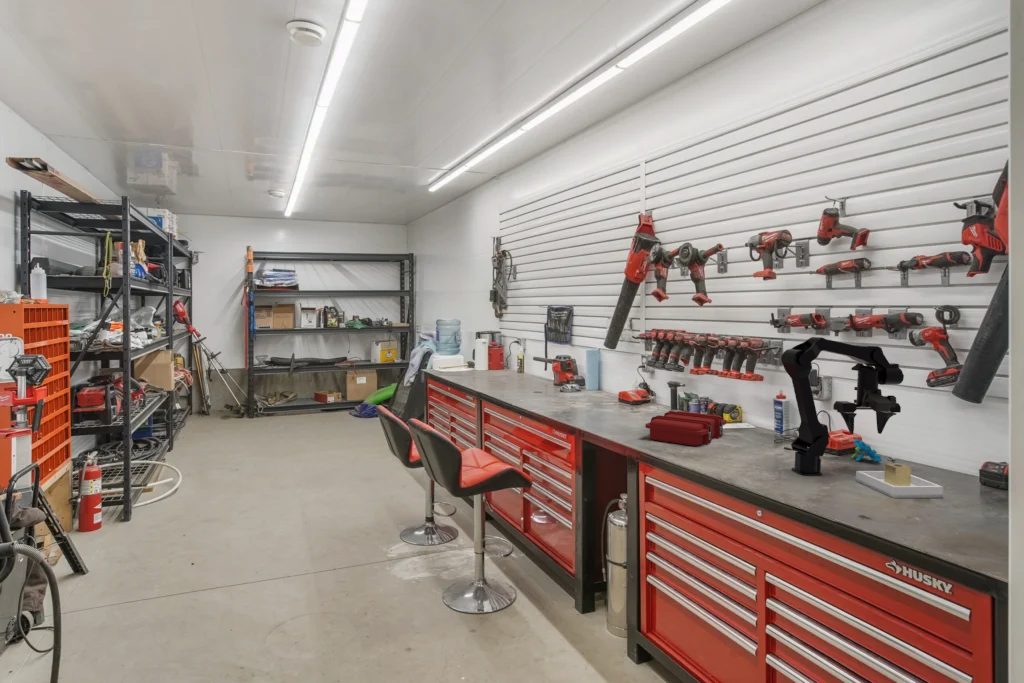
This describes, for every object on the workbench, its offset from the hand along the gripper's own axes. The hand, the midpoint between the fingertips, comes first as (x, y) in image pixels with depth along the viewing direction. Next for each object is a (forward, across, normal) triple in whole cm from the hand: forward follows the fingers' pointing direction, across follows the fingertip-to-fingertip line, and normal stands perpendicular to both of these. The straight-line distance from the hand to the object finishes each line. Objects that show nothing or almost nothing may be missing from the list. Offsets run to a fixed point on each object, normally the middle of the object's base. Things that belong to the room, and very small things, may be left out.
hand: (865, 433), depth 185 cm
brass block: (+11, -3, -19) cm, 22 cm away
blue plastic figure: (+12, +9, +12) cm, 19 cm away
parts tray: (+12, -3, -19) cm, 23 cm away
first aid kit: (+13, -40, +50) cm, 66 cm away
